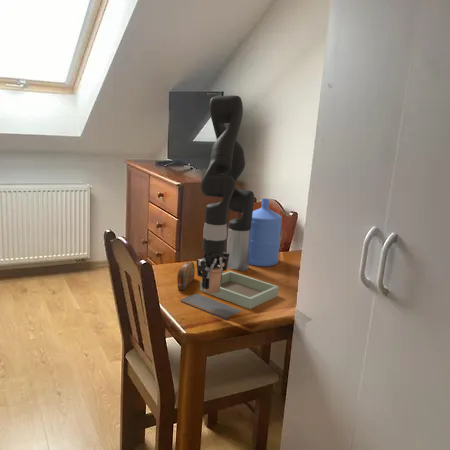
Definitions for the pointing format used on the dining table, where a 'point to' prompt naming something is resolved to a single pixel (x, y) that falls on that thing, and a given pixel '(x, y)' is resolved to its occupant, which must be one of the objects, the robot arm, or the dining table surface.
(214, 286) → the clay pot
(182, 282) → the tin
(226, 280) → the pale green tray
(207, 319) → the dining table surface
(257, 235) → the water jug
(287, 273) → the dining table surface
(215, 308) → the slate tile
